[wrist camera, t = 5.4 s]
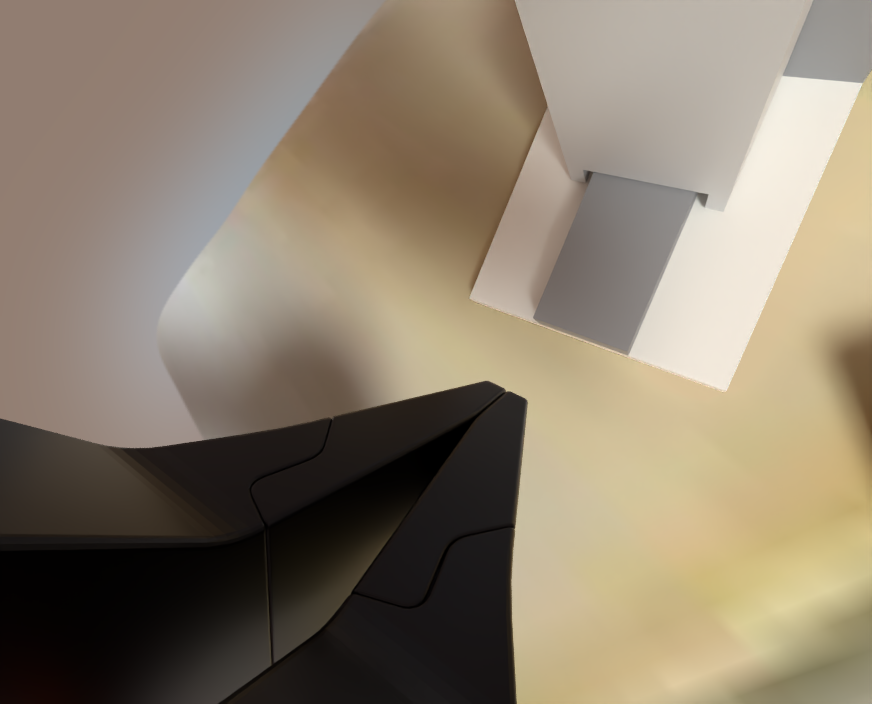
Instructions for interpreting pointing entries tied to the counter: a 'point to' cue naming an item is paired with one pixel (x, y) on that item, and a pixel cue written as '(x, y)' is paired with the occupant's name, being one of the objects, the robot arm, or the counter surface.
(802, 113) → the board
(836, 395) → the counter surface
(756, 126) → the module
